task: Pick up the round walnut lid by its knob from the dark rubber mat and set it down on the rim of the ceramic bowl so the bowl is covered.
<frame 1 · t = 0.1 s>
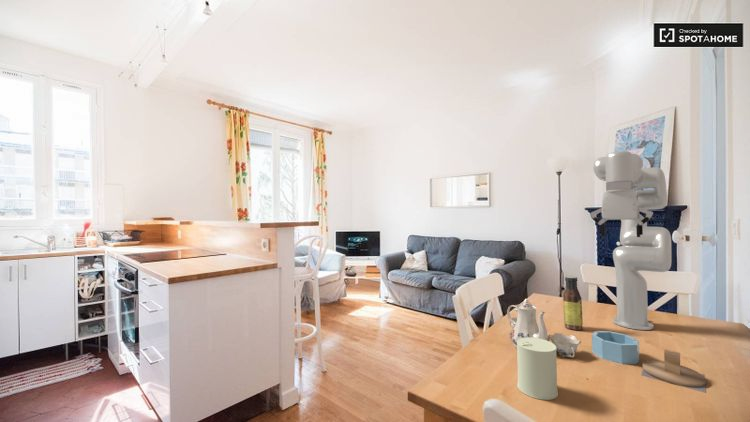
hand: (620, 236, 108), 37 cm above the table, tool pointing down, fingers open, 9 cm apart
chinaware: (534, 346, 106), on the table
sauce bottle: (573, 328, 122), on the table
mat: (672, 377, 84), on the table
bowl: (615, 357, 96), on the table
lid: (672, 374, 84), point 1 cm above the table, touching mat
can: (537, 390, 79), on the table
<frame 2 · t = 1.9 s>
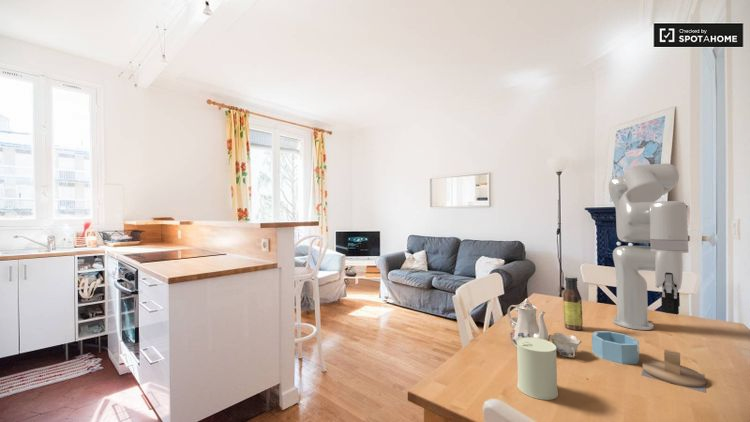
hand: (671, 309, 84), 18 cm above the table, tool pointing down, fingers open, 9 cm apart
nothing on the table moved.
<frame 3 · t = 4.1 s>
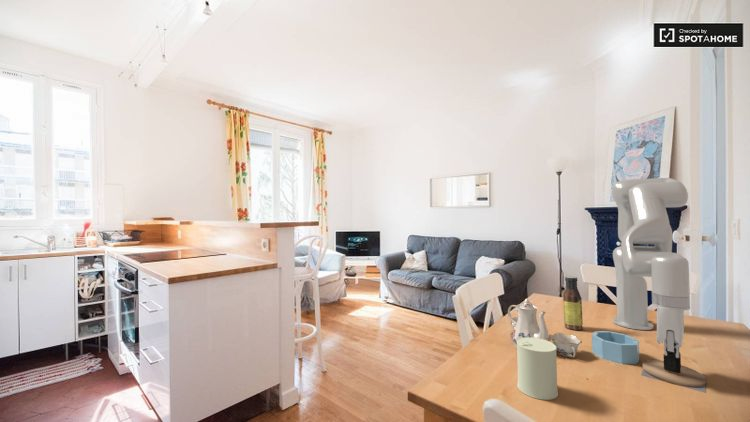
hand: (672, 368, 84), 2 cm above the table, tool pointing down, fingers closed on lid, 3 cm apart
lid: (672, 374, 84), point 1 cm above the table, touching gripper
everything else where it was.
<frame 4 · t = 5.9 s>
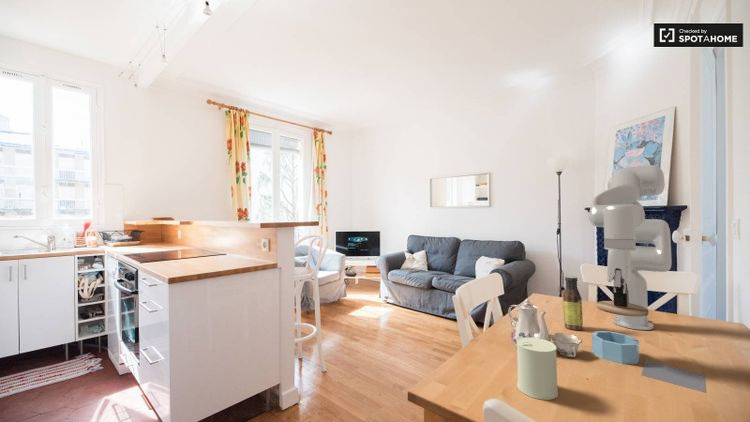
hand: (621, 304, 95), 17 cm above the table, tool pointing down, fingers closed on lid, 3 cm apart
lid: (621, 309, 95), point 15 cm above the table, touching gripper
everything else where it was.
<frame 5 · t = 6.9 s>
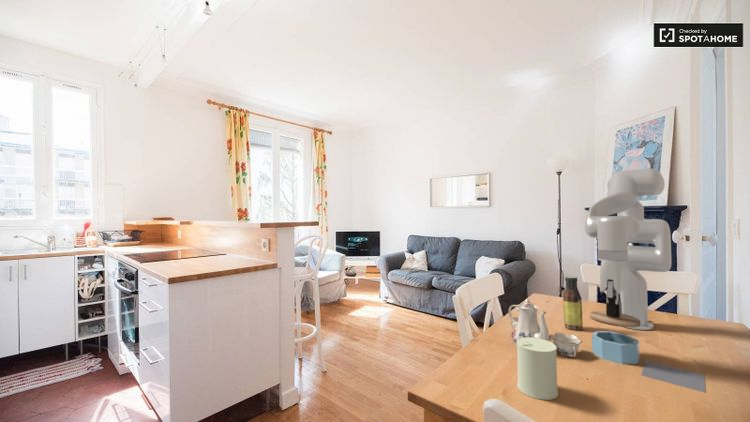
hand: (614, 314, 96), 13 cm above the table, tool pointing down, fingers closed on lid, 3 cm apart
lid: (614, 320, 96), point 11 cm above the table, touching gripper
everything else where it was.
when the fingers open (9 cm above the table, at t = 7.7 s): lid drops 2 cm, resting on bowl.
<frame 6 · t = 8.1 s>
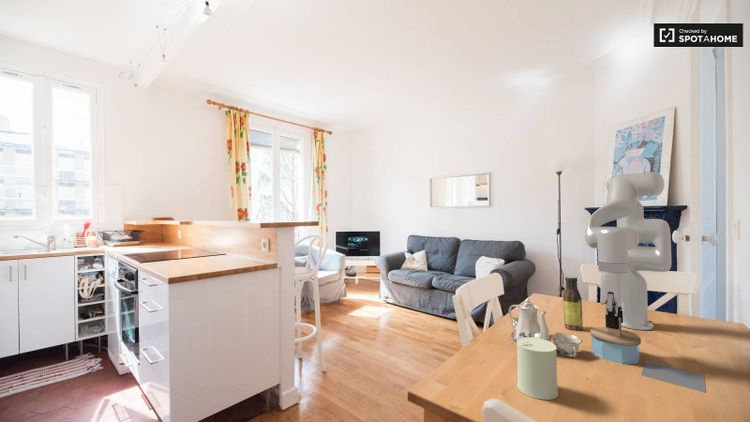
hand: (614, 324, 96), 10 cm above the table, tool pointing down, fingers open, 6 cm apart
lid: (614, 337, 96), point 6 cm above the table, touching bowl
everything else where it was.
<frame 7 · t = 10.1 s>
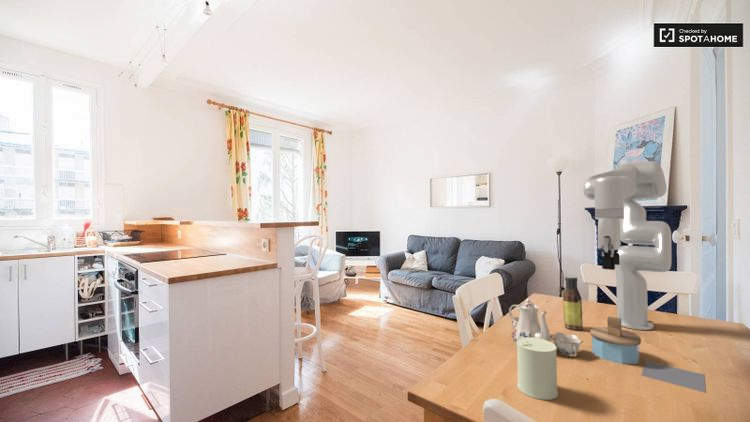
hand: (611, 266, 101), 27 cm above the table, tool pointing down, fingers open, 9 cm apart
nothing on the table moved.
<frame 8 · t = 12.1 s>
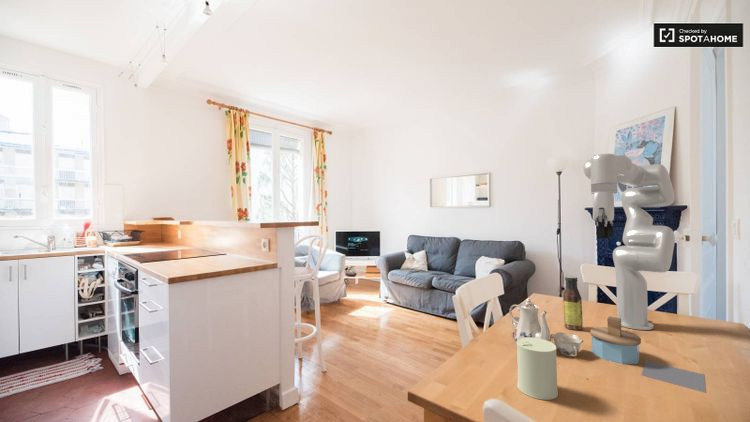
hand: (605, 237, 110), 36 cm above the table, tool pointing down, fingers open, 9 cm apart
at the end: lid 0.1 cm off-centre on the bowl, point 6.0 cm above the bowl's base; lid tilted 0° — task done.
